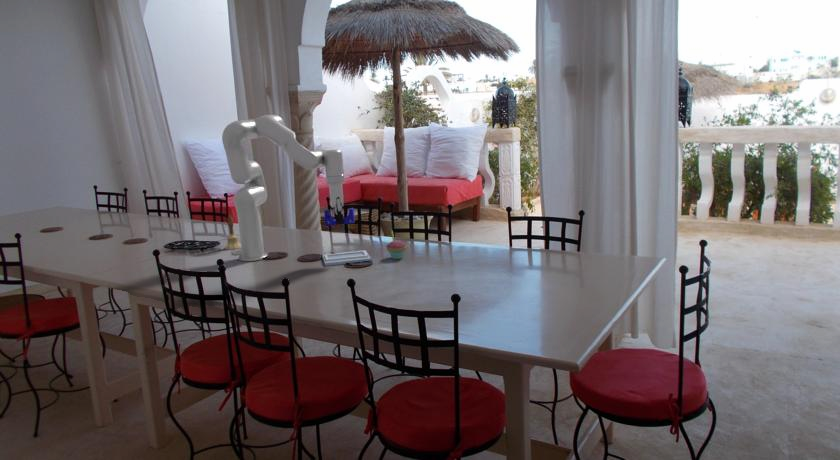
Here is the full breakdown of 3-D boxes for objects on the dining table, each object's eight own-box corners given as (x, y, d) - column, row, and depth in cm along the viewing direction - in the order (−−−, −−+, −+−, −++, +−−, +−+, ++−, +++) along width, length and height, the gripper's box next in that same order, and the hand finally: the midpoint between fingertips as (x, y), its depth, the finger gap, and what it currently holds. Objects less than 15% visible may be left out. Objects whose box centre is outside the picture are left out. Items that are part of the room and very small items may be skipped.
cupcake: (383, 259, 270) (381, 231, 268) (393, 254, 278) (391, 227, 275) (401, 260, 266) (399, 232, 264) (411, 255, 274) (409, 228, 271)
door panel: (325, 266, 264) (324, 260, 263) (322, 257, 279) (322, 252, 279) (371, 261, 268) (370, 256, 267) (365, 252, 283) (365, 247, 283)
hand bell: (239, 249, 302) (236, 216, 299) (222, 250, 303) (218, 216, 299) (244, 245, 310) (241, 212, 307) (227, 246, 311) (224, 213, 307)
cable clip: (324, 225, 268) (323, 211, 267) (326, 223, 272) (325, 209, 271) (353, 223, 267) (352, 209, 266) (354, 221, 272) (353, 207, 271)
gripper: (324, 178, 274) (328, 220, 278) (327, 182, 257) (332, 227, 261) (342, 176, 275) (346, 218, 279) (346, 181, 259) (350, 225, 263)
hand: (339, 222), depth 270 cm, fingers closed on cable clip, 5 cm apart
